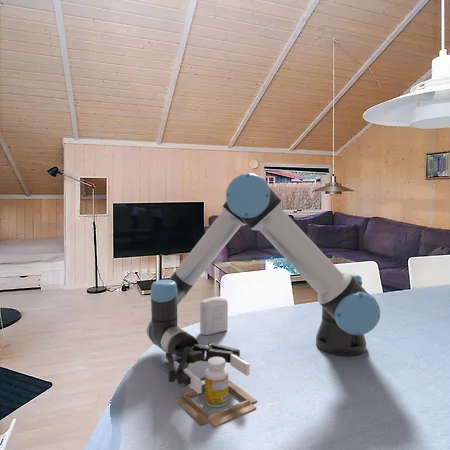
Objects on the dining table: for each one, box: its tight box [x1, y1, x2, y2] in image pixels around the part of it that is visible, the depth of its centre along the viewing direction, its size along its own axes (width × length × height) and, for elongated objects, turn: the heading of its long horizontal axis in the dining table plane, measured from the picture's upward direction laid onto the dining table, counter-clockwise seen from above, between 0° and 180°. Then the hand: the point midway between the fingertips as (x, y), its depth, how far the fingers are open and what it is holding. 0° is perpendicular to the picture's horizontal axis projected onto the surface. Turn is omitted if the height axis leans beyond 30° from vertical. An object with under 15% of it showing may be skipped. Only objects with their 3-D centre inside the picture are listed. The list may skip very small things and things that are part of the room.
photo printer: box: [199, 296, 229, 336], centre depth 123 cm, size 10×4×12 cm, turn 123°
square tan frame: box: [176, 379, 258, 428], centre depth 80 cm, size 15×15×1 cm
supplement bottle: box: [204, 357, 229, 408], centre depth 80 cm, size 5×5×10 cm
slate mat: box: [160, 355, 208, 387], centre depth 96 cm, size 13×13×1 cm
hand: (225, 378), depth 77 cm, fingers open, 12 cm apart
